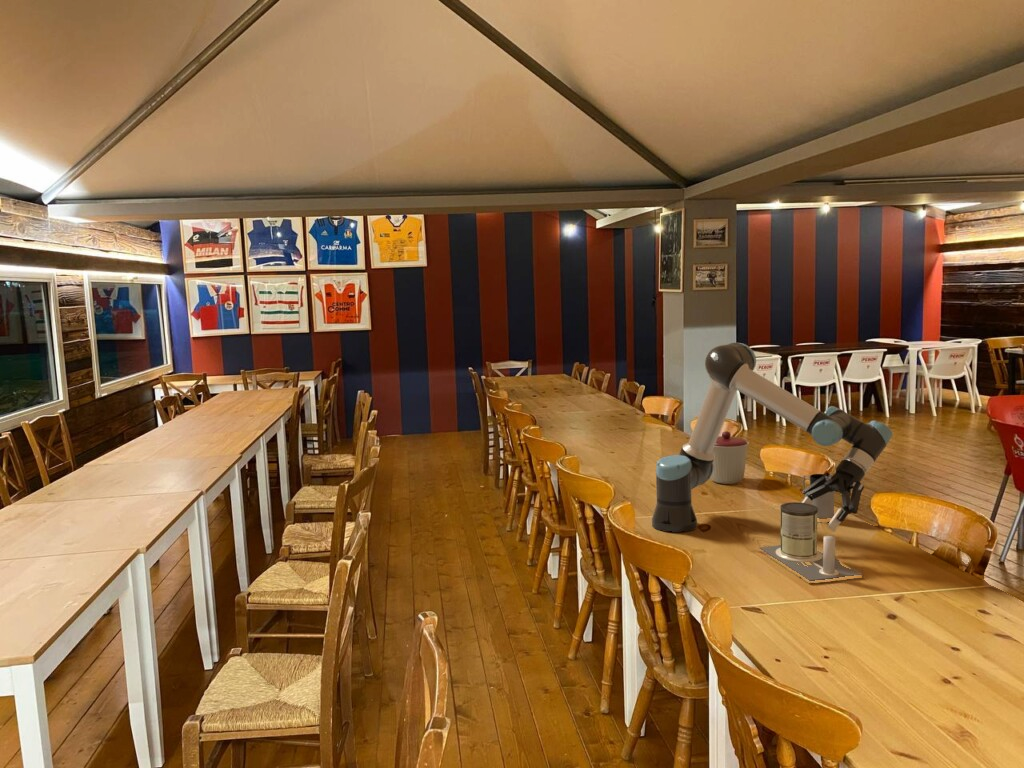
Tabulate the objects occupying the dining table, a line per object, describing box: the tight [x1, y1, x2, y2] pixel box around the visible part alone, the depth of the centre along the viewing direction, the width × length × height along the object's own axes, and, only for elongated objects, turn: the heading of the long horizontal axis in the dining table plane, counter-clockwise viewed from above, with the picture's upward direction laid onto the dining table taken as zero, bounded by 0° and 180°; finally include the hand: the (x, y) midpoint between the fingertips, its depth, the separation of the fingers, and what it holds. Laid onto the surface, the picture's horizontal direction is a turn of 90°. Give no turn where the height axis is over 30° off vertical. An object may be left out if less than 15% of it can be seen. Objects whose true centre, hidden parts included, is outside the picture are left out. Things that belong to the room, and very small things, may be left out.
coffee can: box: [779, 501, 818, 559], centre depth 218 cm, size 10×10×14 cm
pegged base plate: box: [758, 535, 863, 581], centre depth 213 cm, size 16×27×11 cm, turn 10°
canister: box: [709, 431, 750, 485], centre depth 307 cm, size 18×18×21 cm
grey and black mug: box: [802, 473, 835, 519], centre depth 256 cm, size 9×14×15 cm, turn 15°
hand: (813, 522), depth 219 cm, fingers open, 13 cm apart
